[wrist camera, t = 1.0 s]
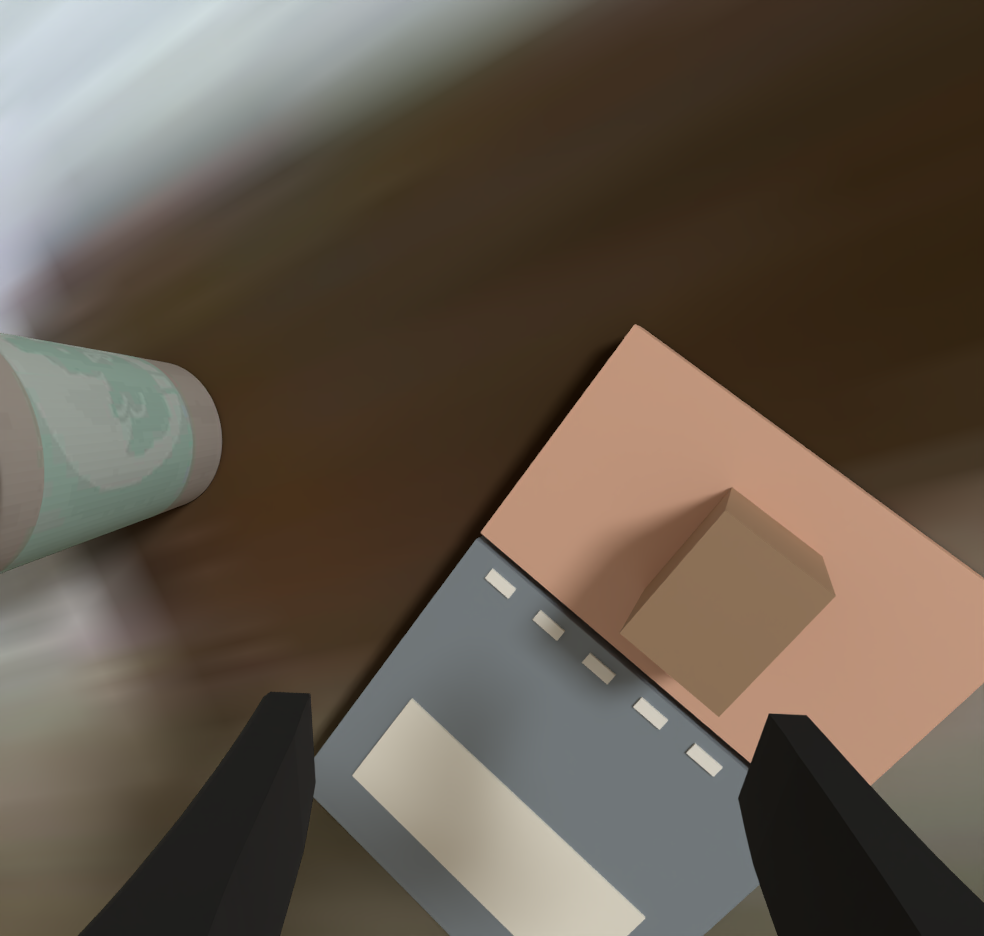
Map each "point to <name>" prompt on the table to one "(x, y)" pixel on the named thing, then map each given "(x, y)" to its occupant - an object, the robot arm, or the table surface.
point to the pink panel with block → (742, 565)
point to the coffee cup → (94, 444)
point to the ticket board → (535, 774)
